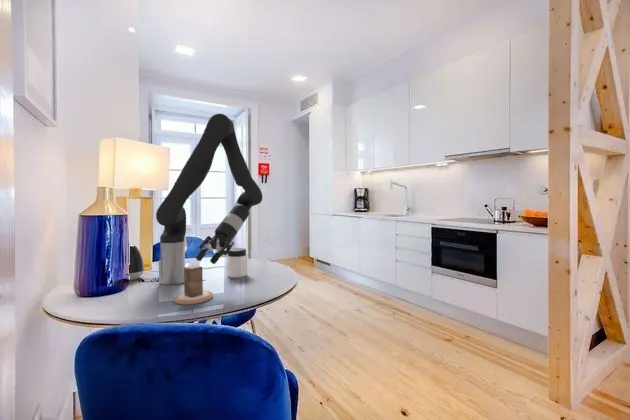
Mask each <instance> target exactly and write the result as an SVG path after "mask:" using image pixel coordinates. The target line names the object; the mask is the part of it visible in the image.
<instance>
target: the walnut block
mask: <svg viewBox="0 0 630 420" xmlns="http://www.w3.org/2000/svg"><path fill="white" fill-rule="evenodd" d="M203 276H204V275H203V266H201V265H190V266H185V267H184V282H183V288H184V289H183V290H184V291H183V292H184V296H187V297H191V298H193V297H196V296H200V295H203V290H204V289H203V288H204V286H203V285H204V284H203V282H204V281H203Z"/></svg>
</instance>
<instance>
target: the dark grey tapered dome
mask: <svg viewBox="0 0 630 420" xmlns="http://www.w3.org/2000/svg"><path fill="white" fill-rule="evenodd" d="M129 245H130V265H129V276H130V280H129V281H134V280H137V279H139V278H141V276H142V275H143V273H144V270H145V266H144V260H143V257H142V255H141V254H142V253H141V252H140V250H139V248H138V247H137V246H136V245H134V244H129Z"/></svg>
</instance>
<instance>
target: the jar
mask: <svg viewBox="0 0 630 420" xmlns="http://www.w3.org/2000/svg"><path fill="white" fill-rule="evenodd" d="M226 275H227V277H229V278H231V279H234V278H238V279H239V278H243V277H246V276H248V255H247V249H246V248H245V247H242V248H241V247H237V248H236V247H235V248H231V249H230V251H229V252H228V254H227V255H226Z"/></svg>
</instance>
